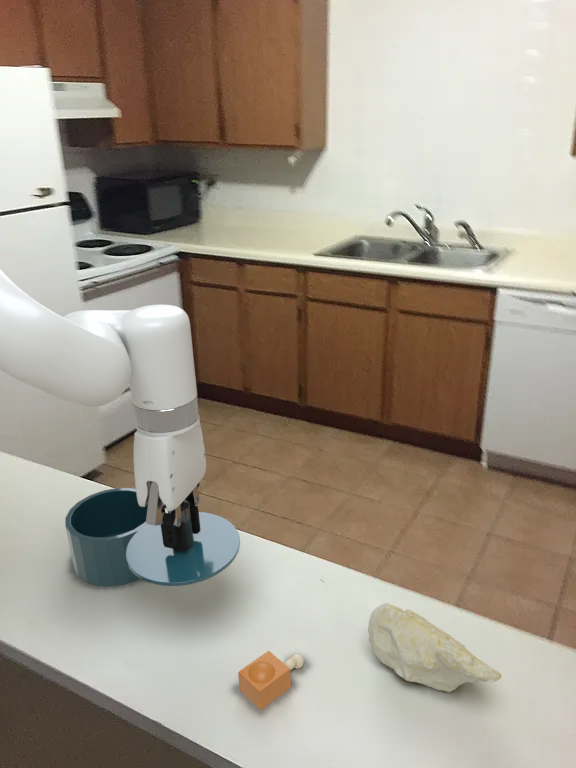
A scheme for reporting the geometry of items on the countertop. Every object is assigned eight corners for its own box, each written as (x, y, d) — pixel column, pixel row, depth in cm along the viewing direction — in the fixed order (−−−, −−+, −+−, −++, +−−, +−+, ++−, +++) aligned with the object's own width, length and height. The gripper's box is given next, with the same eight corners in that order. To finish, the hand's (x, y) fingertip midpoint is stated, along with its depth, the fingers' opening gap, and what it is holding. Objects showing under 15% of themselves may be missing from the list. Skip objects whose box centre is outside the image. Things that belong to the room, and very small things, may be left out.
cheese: (356, 644, 89) (349, 659, 75) (381, 593, 90) (378, 598, 76) (464, 706, 85) (477, 734, 71) (488, 652, 86) (506, 669, 72)
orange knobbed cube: (291, 653, 86) (290, 629, 84) (313, 671, 83) (312, 647, 81) (239, 691, 80) (237, 666, 79) (260, 711, 78) (259, 686, 76)
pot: (134, 595, 96) (127, 547, 93) (56, 577, 101) (46, 530, 97) (179, 539, 108) (173, 495, 105) (106, 525, 112) (99, 482, 109)
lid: (211, 600, 78) (206, 551, 75) (104, 576, 83) (95, 529, 80) (257, 528, 90) (254, 483, 88) (161, 510, 95) (156, 467, 92)
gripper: (171, 380, 86) (185, 500, 94) (99, 439, 72) (122, 574, 80) (224, 386, 84) (234, 508, 92) (160, 448, 70) (178, 586, 78)
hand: (182, 538), depth 86 cm, fingers closed on lid, 2 cm apart
